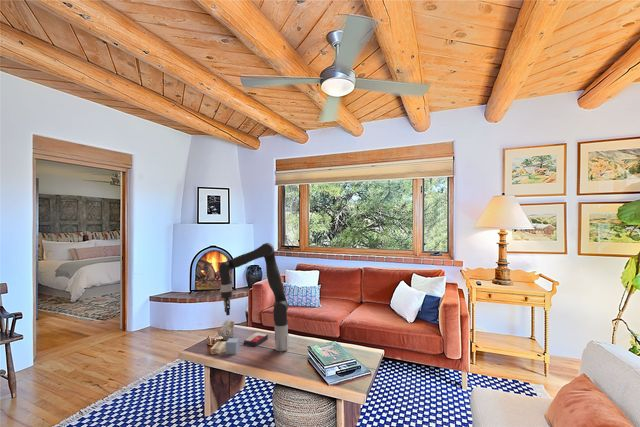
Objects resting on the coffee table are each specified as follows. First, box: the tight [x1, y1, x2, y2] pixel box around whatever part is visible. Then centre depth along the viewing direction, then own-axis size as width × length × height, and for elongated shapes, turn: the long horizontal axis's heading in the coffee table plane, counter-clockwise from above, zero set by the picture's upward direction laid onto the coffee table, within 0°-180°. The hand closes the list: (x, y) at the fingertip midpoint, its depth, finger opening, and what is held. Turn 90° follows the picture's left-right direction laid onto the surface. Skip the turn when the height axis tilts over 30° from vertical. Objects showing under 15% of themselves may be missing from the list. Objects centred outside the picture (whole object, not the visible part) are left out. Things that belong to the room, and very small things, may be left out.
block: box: [225, 337, 240, 355], centre depth 206 cm, size 7×7×8 cm
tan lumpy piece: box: [210, 341, 227, 355], centre depth 209 cm, size 6×12×4 cm, turn 177°
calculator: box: [243, 332, 269, 348], centre depth 223 cm, size 11×4×15 cm
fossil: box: [217, 319, 235, 341], centre depth 230 cm, size 16×9×15 cm, turn 156°
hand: (227, 313), depth 210 cm, fingers open, 8 cm apart
